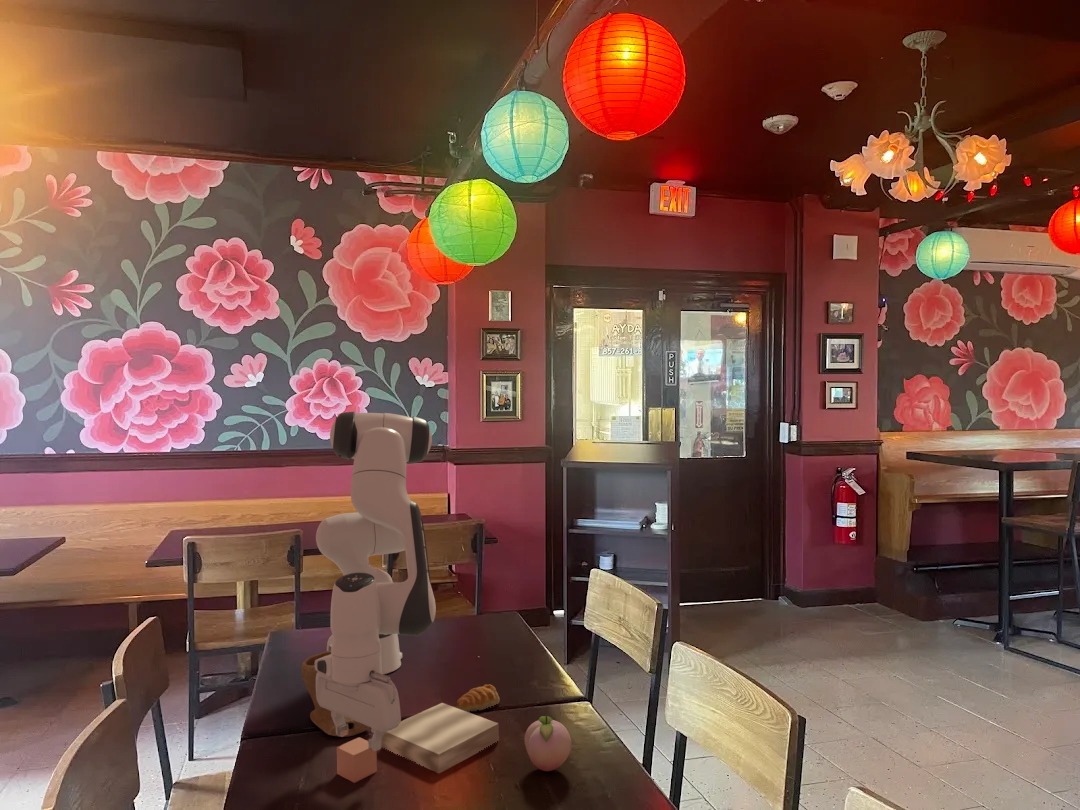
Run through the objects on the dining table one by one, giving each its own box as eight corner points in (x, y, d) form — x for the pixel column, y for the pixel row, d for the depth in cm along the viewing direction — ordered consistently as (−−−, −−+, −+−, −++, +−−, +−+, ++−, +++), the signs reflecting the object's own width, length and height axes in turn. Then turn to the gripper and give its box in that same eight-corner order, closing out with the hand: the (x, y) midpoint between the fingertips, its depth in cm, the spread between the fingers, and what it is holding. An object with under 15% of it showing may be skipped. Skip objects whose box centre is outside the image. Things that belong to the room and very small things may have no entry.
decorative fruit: (577, 781, 136) (576, 725, 136) (531, 786, 134) (531, 729, 134) (564, 755, 145) (563, 703, 145) (521, 760, 143) (521, 707, 143)
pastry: (467, 717, 163) (467, 699, 163) (449, 708, 168) (449, 690, 168) (502, 704, 169) (502, 687, 169) (483, 696, 174) (483, 679, 174)
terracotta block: (337, 774, 139) (336, 747, 139) (359, 763, 143) (359, 737, 143) (354, 783, 136) (353, 755, 136) (376, 771, 140) (376, 744, 140)
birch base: (382, 750, 149) (381, 729, 149) (442, 721, 162) (442, 702, 161) (439, 776, 139) (438, 754, 139) (498, 743, 151) (498, 723, 151)
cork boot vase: (295, 721, 162) (293, 650, 161) (350, 707, 168) (348, 639, 168) (318, 748, 149) (317, 672, 149) (376, 732, 156) (375, 659, 155)
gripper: (408, 673, 135) (409, 751, 135) (337, 650, 148) (338, 721, 148) (379, 684, 130) (381, 765, 130) (308, 659, 143) (310, 733, 143)
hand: (358, 741), depth 139 cm, fingers open, 8 cm apart
